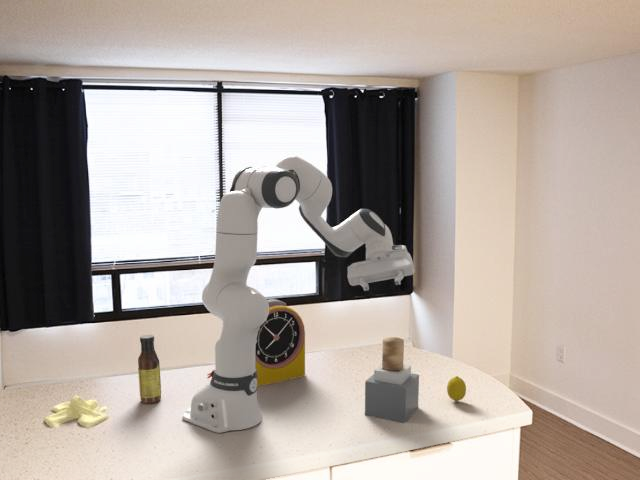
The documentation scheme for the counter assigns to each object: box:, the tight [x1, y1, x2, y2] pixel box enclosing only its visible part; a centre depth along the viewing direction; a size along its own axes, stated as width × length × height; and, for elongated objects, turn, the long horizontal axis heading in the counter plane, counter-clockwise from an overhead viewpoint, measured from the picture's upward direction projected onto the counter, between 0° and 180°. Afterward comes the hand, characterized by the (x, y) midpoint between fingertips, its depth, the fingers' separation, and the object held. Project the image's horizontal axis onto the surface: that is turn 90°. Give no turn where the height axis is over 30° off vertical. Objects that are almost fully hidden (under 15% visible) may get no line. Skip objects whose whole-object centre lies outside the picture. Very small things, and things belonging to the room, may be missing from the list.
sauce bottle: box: [137, 334, 162, 404], centre depth 184 cm, size 6×6×20 cm
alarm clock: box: [256, 298, 306, 387], centre depth 203 cm, size 21×9×26 cm, turn 123°
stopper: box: [381, 336, 405, 372], centre depth 176 cm, size 6×6×11 cm
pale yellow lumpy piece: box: [43, 394, 111, 429], centre depth 177 cm, size 22×19×6 cm
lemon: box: [446, 375, 467, 403], centre depth 185 cm, size 6×6×8 cm
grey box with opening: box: [364, 363, 420, 424], centre depth 177 cm, size 12×12×13 cm
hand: (381, 285), depth 180 cm, fingers open, 8 cm apart
